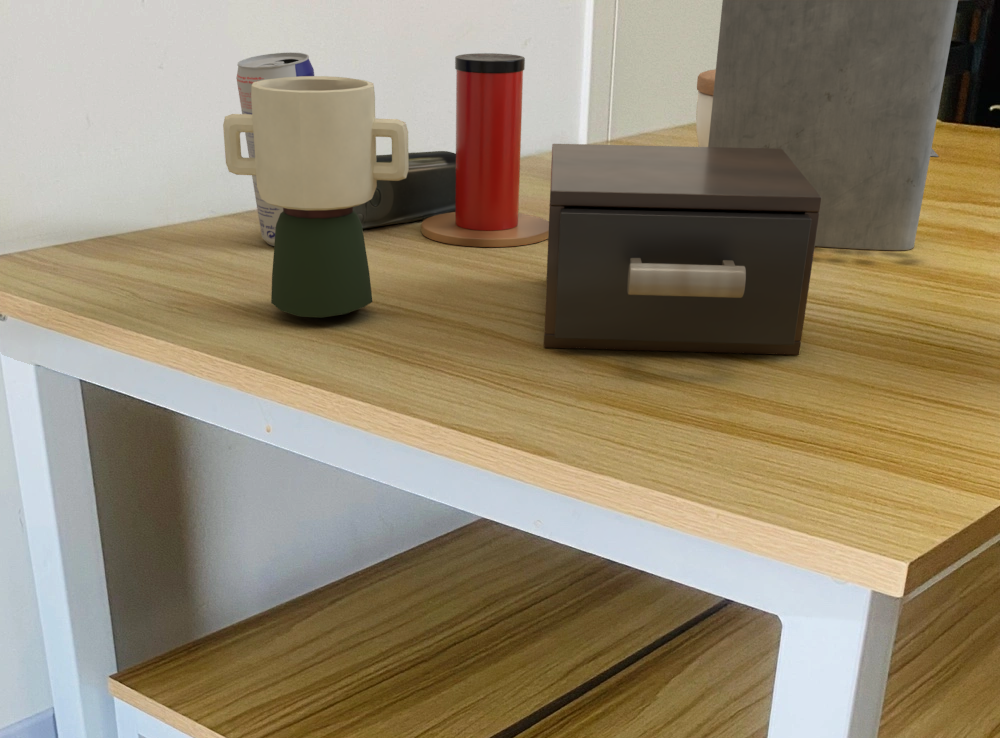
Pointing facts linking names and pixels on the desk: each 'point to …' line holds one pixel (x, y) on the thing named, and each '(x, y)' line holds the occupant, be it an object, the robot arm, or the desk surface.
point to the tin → (488, 140)
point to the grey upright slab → (839, 103)
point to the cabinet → (675, 185)
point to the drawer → (680, 275)
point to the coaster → (485, 232)
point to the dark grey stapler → (412, 191)
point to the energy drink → (246, 75)
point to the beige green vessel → (317, 184)
